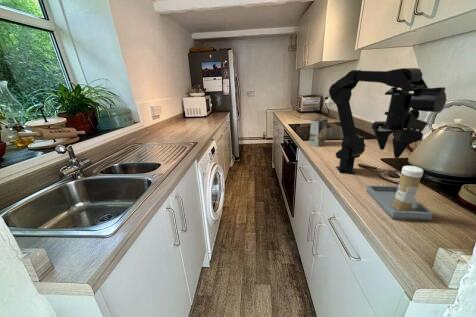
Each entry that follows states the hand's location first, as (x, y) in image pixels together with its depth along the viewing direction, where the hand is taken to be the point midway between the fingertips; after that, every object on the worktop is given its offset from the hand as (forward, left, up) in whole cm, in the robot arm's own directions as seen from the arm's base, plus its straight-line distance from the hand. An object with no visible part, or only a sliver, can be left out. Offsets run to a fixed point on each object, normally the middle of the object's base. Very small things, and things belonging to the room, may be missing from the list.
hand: (388, 153), depth 71 cm
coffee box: (-56, -11, -13) cm, 59 cm away
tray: (+13, -3, -13) cm, 19 cm away
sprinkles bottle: (+16, -3, -12) cm, 21 cm away
